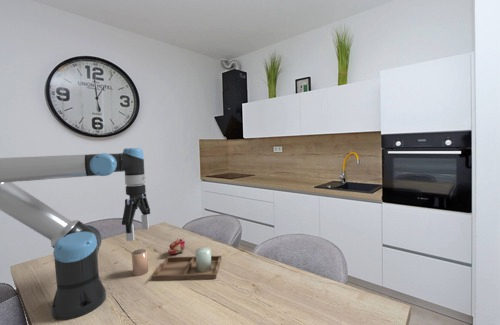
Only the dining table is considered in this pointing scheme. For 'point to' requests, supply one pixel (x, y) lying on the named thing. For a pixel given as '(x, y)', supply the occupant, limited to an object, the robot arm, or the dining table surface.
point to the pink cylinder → (140, 262)
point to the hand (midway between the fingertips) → (138, 234)
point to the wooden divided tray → (185, 269)
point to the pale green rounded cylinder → (203, 259)
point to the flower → (177, 247)
